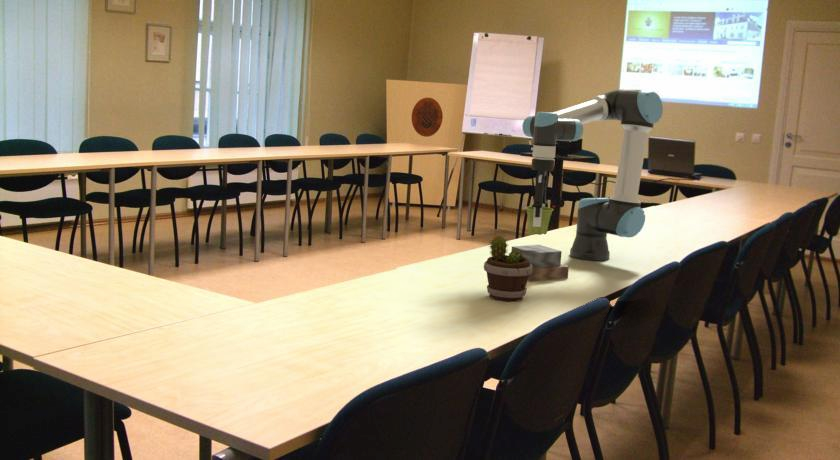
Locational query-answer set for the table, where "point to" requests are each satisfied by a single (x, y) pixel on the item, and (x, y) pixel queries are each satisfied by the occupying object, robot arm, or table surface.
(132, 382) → the table surface
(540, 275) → the pedestal
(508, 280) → the flowerpot
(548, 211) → the plant pot
